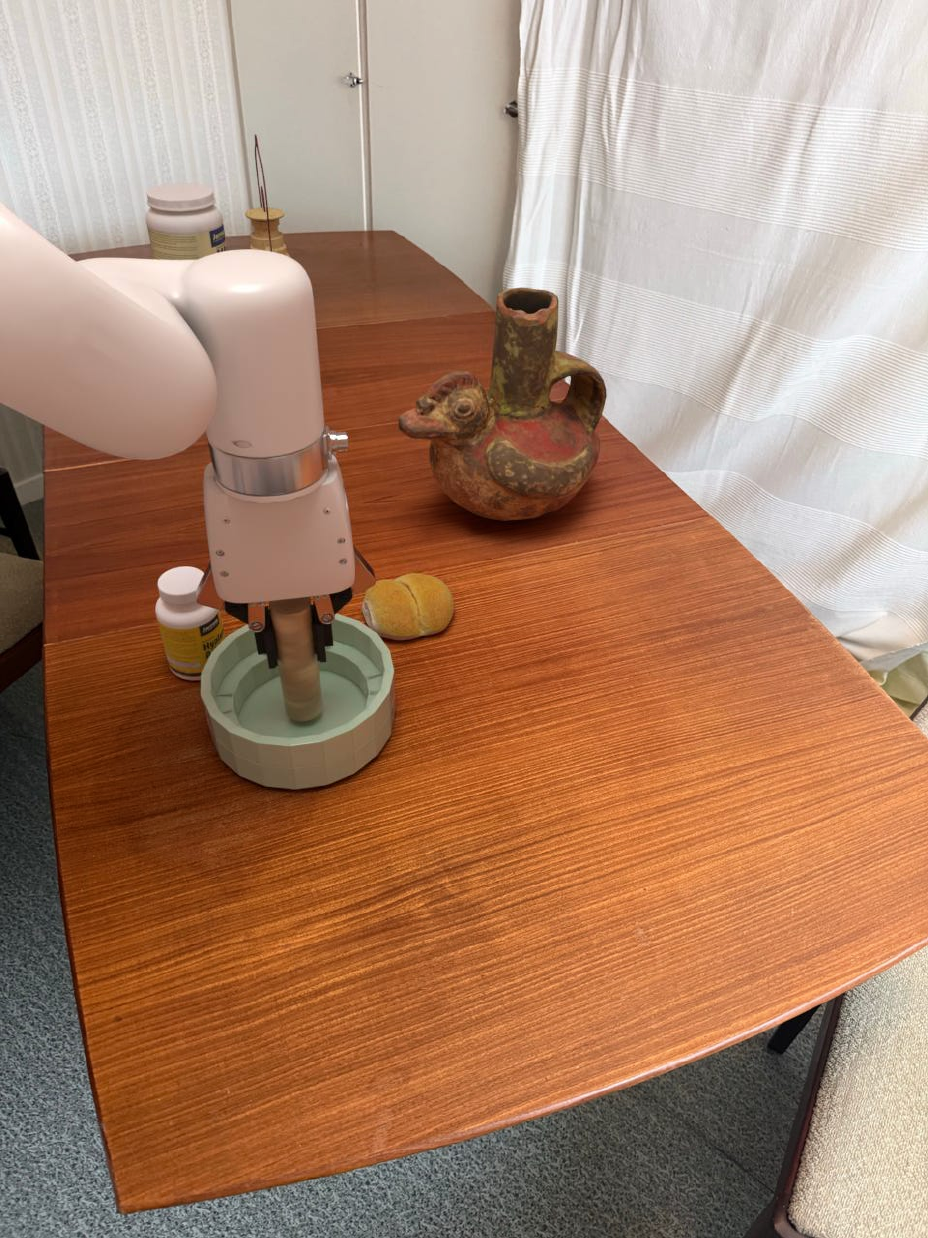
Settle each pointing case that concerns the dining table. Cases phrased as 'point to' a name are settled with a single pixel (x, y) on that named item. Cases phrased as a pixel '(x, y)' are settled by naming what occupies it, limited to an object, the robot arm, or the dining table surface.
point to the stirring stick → (297, 657)
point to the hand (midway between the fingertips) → (296, 652)
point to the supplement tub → (184, 222)
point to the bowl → (300, 750)
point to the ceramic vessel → (514, 419)
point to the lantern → (266, 221)
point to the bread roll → (408, 606)
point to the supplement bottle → (186, 622)
